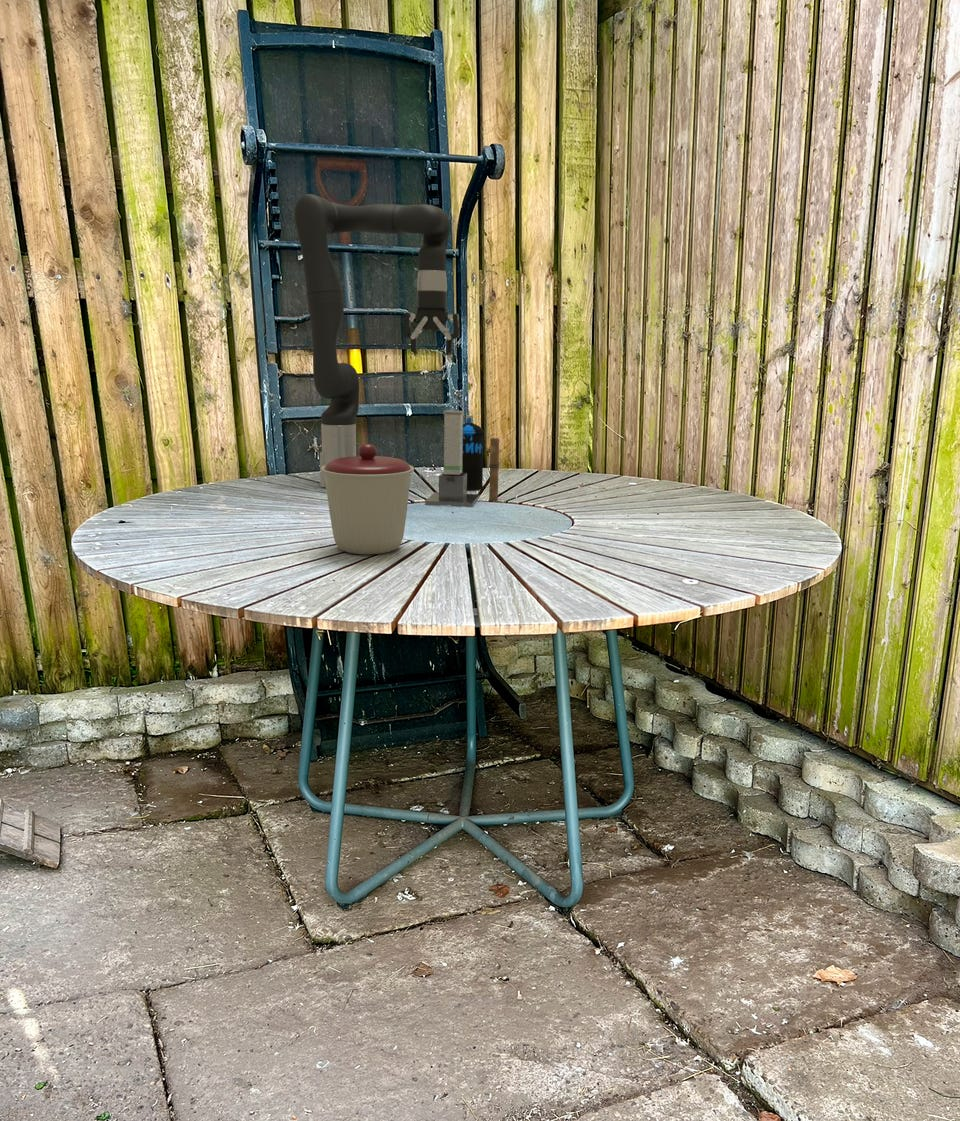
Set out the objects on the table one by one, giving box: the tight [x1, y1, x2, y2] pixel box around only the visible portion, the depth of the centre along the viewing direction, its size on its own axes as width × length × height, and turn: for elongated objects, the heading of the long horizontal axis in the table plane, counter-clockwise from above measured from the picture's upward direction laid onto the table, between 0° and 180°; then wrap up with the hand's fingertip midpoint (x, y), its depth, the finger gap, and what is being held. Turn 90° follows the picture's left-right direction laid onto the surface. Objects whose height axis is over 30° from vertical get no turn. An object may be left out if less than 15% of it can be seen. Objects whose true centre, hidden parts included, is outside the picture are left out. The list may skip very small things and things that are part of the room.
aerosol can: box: [462, 414, 485, 492], centre depth 245 cm, size 8×8×20 cm
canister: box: [321, 443, 415, 556], centre depth 176 cm, size 18×18×21 cm
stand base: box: [424, 471, 480, 508], centre depth 228 cm, size 12×12×7 cm
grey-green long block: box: [442, 409, 465, 475], centre depth 225 cm, size 5×5×16 cm
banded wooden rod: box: [488, 437, 500, 502], centre depth 229 cm, size 2×2×16 cm
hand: (431, 354), depth 232 cm, fingers open, 8 cm apart
